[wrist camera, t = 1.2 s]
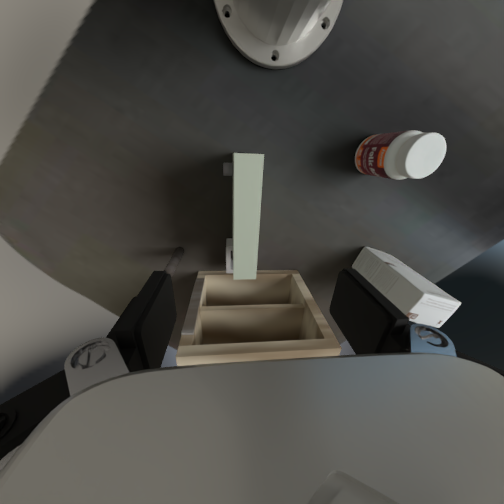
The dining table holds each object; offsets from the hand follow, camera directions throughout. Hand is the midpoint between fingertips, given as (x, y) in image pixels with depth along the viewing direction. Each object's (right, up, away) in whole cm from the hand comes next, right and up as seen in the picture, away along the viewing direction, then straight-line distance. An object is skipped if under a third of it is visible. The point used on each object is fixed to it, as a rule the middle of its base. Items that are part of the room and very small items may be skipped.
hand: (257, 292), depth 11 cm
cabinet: (-2, -4, +23) cm, 24 cm away
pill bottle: (+15, +15, +16) cm, 27 cm away
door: (-2, +7, +17) cm, 19 cm away
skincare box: (+20, +1, +23) cm, 30 cm away
